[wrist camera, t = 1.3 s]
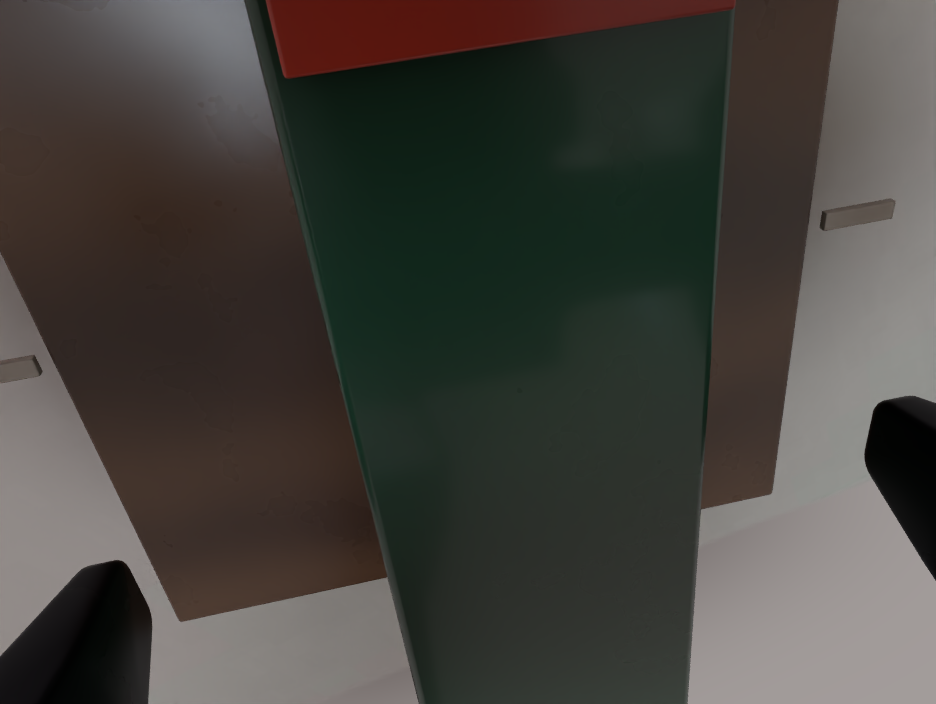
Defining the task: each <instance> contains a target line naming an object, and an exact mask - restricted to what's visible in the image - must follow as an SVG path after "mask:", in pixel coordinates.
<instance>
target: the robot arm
mask: <svg viewBox="0 0 936 704" xmlns="http://www.w3.org/2000/svg"><path fill="white" fill-rule="evenodd" d="M864 455H865V463H866V467H867V470H868V472H869V474H870V476H871V477H872V479H873V481H874V482H875V484H876V486H877V487H878V489H879V490H880V492H881V494H882V495H883V496H884V499H885V500H886V502H887V503H888V505H889V507H890V508H891V510H892V512H893V513H894V515H895V516H896V518H897V520H898V521H899V523H900V525H901V526H902V528H903V530H904V531H905V533H906V534H907V536H908V538H909V539H910V541H911V542H912V544H913V546H914V547H915V549H916V551H917V552H918V554H919V556H920V557H921V559H922V560H923V562H924V564H925V565H926V567H927V568H928V570H929V571H930V573H931V574H932V575H933V577H934V579H935V580H936V403H933V402H931V401H928V400H925V399H922V398H919V397H916V396H904V397H899V398H894V399H889V400H884V401H882V402H880V403H878V404H877V406H876V407H875V408H874V411H873V415H872V419H871V424H870V429H869V434H868V438H867V443H866V448H865V454H864ZM151 642H152V618H151V613H150V609H149V607H148V604H147V602H146V600H145V598H144V596H143V594H142V593H141V591H140V589H139V587H138V585H137V583H136V581H135V579H134V577H133V575H132V573H131V571H130V569H129V567H128V566H127V565H126V564H125V563H124V562H123V561H119V560H114V561H109V562H105V563H100V564H95V565H90V566H87V567H85V568H83V569H81V570H80V571H79V572H78V573H77V574H76V575H75V576H74V577H73V578H72V579H71V581H70V582H69V583H68V584H67V585H66V586H65V587H64V588H63V589H62V590H61V591H60V592H59V594H58V595H57V596H56V597H55V598H54V599H53V600H52V601H51V602H50V603H49V604H48V605H47V606H46V608H45V609H44V610H43V611H42V612H41V613H40V614H39V615H38V616H37V617H36V618H35V619H34V621H33V622H32V623H31V624H30V625H29V626H28V627H27V628H26V629H25V630H24V631H23V632H22V633H21V635H20V636H19V637H18V638H17V639H16V640H15V641H14V642H13V643H12V644H11V645H10V646H9V648H8V649H7V650H6V651H5V652H4V653H3V654H2V655H1V656H0V704H148V695H149V677H150V660H151Z"/></svg>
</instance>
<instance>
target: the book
mask: <svg viewBox="0 0 936 704" xmlns="http://www.w3.org/2000/svg"><path fill="white" fill-rule="evenodd" d="M244 2H245V6H246V10H247V14H248V18H249V22H250V26H251V30H252V34H253V38H254V42H255V46H256V50H257V54H258V58H259V62H260V66H261V70H262V74H263V78H264V82H265V86H266V90H267V94H268V99H269V103H270V107H271V111H272V115H273V119H274V123H275V127H276V131H277V135H278V139H279V143H280V147H281V151H282V155H283V159H284V163H285V167H286V171H287V175H288V179H289V183H290V187H291V191H292V195H293V199H294V203H295V207H296V211H297V215H298V219H299V223H300V227H301V231H302V235H303V239H304V243H305V247H306V251H307V255H308V259H309V263H310V267H311V271H312V275H313V280H314V284H315V288H316V292H317V296H318V300H319V304H320V308H321V312H322V316H323V320H324V324H325V328H326V332H327V336H328V340H329V344H330V348H331V352H332V356H333V360H334V364H335V368H336V372H337V376H338V380H339V384H340V388H341V392H342V396H343V400H344V404H345V408H346V412H347V416H348V420H349V424H350V428H351V432H352V436H353V440H354V444H355V448H356V452H357V457H358V461H359V465H360V469H361V473H362V477H363V481H364V485H365V489H366V493H367V497H368V501H369V505H370V509H371V513H372V517H373V521H374V525H375V529H376V533H377V537H378V541H379V545H380V549H381V553H382V557H383V561H384V565H385V569H386V573H387V577H388V581H389V585H390V589H391V593H392V597H393V601H394V605H395V609H396V613H397V617H398V621H399V625H400V629H401V633H402V638H403V642H404V646H405V650H406V654H407V658H408V662H409V666H410V670H411V673H412V678H413V681H414V686H415V689H416V694H417V698H418V702H419V704H687V702H688V687H689V672H690V658H691V642H692V629H693V614H694V599H695V585H696V571H697V570H696V569H697V556H698V542H699V527H700V513H701V498H702V484H703V469H704V455H705V440H706V426H707V411H708V396H709V382H710V367H711V353H712V338H713V324H714V309H715V295H716V280H717V266H718V251H719V237H720V222H721V208H722V193H723V179H724V164H725V149H726V135H727V120H728V106H729V91H730V77H731V62H732V48H733V33H734V19H735V5H736V0H244Z"/></svg>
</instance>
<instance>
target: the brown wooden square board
mask: <svg viewBox="0 0 936 704" xmlns="http://www.w3.org/2000/svg"><path fill="white" fill-rule="evenodd" d="M838 2H839V0H736V5H735V19H734V33H733V48H732V62H731V77H730V91H729V106H728V120H727V135H726V149H725V164H724V179H723V193H722V208H721V222H720V237H719V251H718V266H717V280H716V295H715V309H714V324H713V338H712V353H711V367H710V382H709V396H708V411H707V426H706V440H705V455H704V469H703V484H702V498H701V509H705V508H709V507H714V506H719V505H723V504H728V503H732V502H737V501H742V500H746V499H751V498H755V497H760V496H765V495H769V494H771V493H772V490H773V482H774V475H775V467H776V460H777V453H778V445H779V438H780V430H781V423H782V416H783V408H784V401H785V393H786V386H787V379H788V371H789V364H790V357H791V349H792V342H793V334H794V327H795V320H796V312H797V305H798V297H799V290H800V283H801V275H802V268H803V260H804V253H805V246H806V238H807V231H808V223H809V216H810V209H811V201H812V194H813V186H814V179H815V172H816V164H817V157H818V149H819V142H820V135H821V127H822V120H823V113H824V105H825V98H826V90H827V83H828V76H829V68H830V61H831V53H832V46H833V39H834V31H835V24H836V16H837V9H838ZM894 207H895V200H893V199H885V200H879V201H874V202H868V203H863V204H857V205H852V206H846V207H841V208H835V209H830V210H824V211H822V215H821V222H820V229H822V230H823V231H827V230H832V229H837V228H843V227H848V226H854V225H859V224H865V223H870V222H875V221H881V220H886V219H892V217H893V212H894ZM0 252H1V254H2V256H3V258H4V261H5V263H6V265H7V267H8V269H9V271H10V273H11V275H12V277H13V279H14V281H15V283H16V285H17V287H18V289H19V291H20V294H21V296H22V298H23V300H24V302H25V304H26V306H27V308H28V310H29V312H30V314H31V316H32V318H33V320H34V322H35V324H36V327H37V329H38V331H39V333H40V335H41V337H42V339H43V341H44V343H45V345H46V347H47V349H48V351H49V353H50V355H51V357H52V360H53V362H54V364H55V366H56V368H57V370H58V372H59V374H60V376H61V378H62V380H63V382H64V384H65V386H66V388H67V390H68V393H69V395H70V397H71V399H72V401H73V403H74V405H75V407H76V409H77V411H78V413H79V415H80V417H81V419H82V421H83V423H84V426H85V428H86V430H87V432H88V434H89V436H90V438H91V440H92V442H93V444H94V446H95V448H96V450H97V452H98V454H99V457H100V459H101V461H102V463H103V465H104V467H105V469H106V471H107V473H108V475H109V477H110V479H111V481H112V483H113V485H114V487H115V490H116V492H117V494H118V496H119V498H120V500H121V502H122V504H123V506H124V508H125V510H126V512H127V514H128V516H129V518H130V520H131V523H132V525H133V527H134V529H135V531H136V533H137V535H138V537H139V539H140V541H141V543H142V545H143V547H144V549H145V551H146V553H147V556H148V558H149V560H150V562H151V564H152V566H153V568H154V570H155V572H156V574H157V576H158V578H159V580H160V582H161V584H162V586H163V589H164V591H165V593H166V595H167V597H168V599H169V601H170V603H171V605H172V607H173V609H174V611H175V613H176V615H177V617H178V619H179V621H181V622H183V621H187V620H192V619H197V618H201V617H206V616H211V615H215V614H220V613H224V612H229V611H234V610H238V609H243V608H248V607H252V606H257V605H261V604H266V603H271V602H275V601H280V600H284V599H289V598H294V597H298V596H303V595H308V594H312V593H317V592H321V591H326V590H331V589H335V588H340V587H344V586H349V585H354V584H358V583H363V582H368V581H372V580H377V579H381V578H386V577H387V573H386V569H385V565H384V561H383V557H382V553H381V549H380V545H379V541H378V537H377V533H376V529H375V525H374V521H373V517H372V513H371V509H370V505H369V501H368V497H367V493H366V489H365V485H364V481H363V477H362V473H361V469H360V465H359V461H358V457H357V452H356V448H355V444H354V440H353V436H352V432H351V428H350V424H349V420H348V416H347V412H346V408H345V404H344V400H343V396H342V392H341V388H340V384H339V380H338V376H337V372H336V368H335V364H334V360H333V356H332V352H331V348H330V344H329V340H328V336H327V332H326V328H325V324H324V320H323V316H322V312H321V308H320V304H319V300H318V296H317V292H316V288H315V284H314V280H313V275H312V271H311V267H310V263H309V259H308V255H307V251H306V247H305V243H304V239H303V235H302V231H301V227H300V223H299V219H298V215H297V211H296V207H295V203H294V199H293V195H292V191H291V187H290V183H289V179H288V175H287V171H286V167H285V163H284V159H283V155H282V151H281V147H280V143H279V139H278V135H277V131H276V127H275V123H274V119H273V115H272V111H271V107H270V103H269V99H268V94H267V90H266V86H265V82H264V78H263V74H262V70H261V66H260V62H259V58H258V54H257V50H256V46H255V42H254V38H253V34H252V30H251V26H250V22H249V18H248V14H247V10H246V6H245V2H244V0H0ZM42 372H43V371H42V369H41V367H40V365H39V363H38V361H37V359H36V357H35V355H30V356H24V357H19V358H13V359H8V360H2V361H0V383H5V382H10V381H16V380H21V379H27V378H32V377H37V376H40V375H41V374H42Z"/></svg>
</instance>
